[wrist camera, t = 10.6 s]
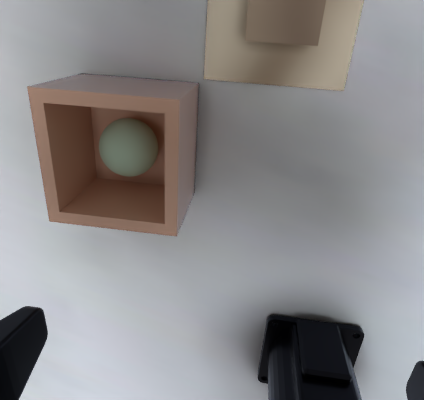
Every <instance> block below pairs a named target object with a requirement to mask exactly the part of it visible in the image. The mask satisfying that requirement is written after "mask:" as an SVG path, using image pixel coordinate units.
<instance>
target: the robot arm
mask: <svg viewBox="0 0 424 400" xmlns="http://www.w3.org/2000/svg"><path fill="white" fill-rule="evenodd" d="M272 322H276V323H272ZM355 333H357V334H355ZM47 335H48V331H47V326H46V321H45V316H44V311H43V310H42V309H41V308H38V307H31V306H25V307H23V308H21V309H19V310H17V311H15V312H14V313H12V314H10V315H8V316H7V317H5V318H3V319H2V320H0V400H19V398H20V396H21V394H22V392H23V390H24V388H25V385H26V383H27V381H28V379H29V377H30V375H31V372H32V370H33V368H34V366H35V364H36V362H37V360H38V357H39V355H40V353H41V351H42V349H43V347H44V345H45V342H46V340H47ZM363 338H364V333H363V330H362V328H360V327H358V326H352V325H345V324H338V323H330V322H323V321H315V320H308V319H300V318H293V317H285V316H278V315H272V316H269V317H268V319H267V323H266V329H265V335H264V341H263V346H262V352H261V358H260V364H259V370H258V380H259V381H260V382H262V383H267V384H268V395H269V400H362V399H361V395H360V392H359V388H358V384H357V381H356V377H355V374H354V370H353V367H354V364H355V361H356V359H357V356H358V353H359V350H360V347H361V344H362V341H363ZM406 393H407V398H408V400H424V361H419V362H417V363H416V365H415V367H414V369H413V371H412V374H411V376H410V378H409V380H408V382H407V386H406Z"/></svg>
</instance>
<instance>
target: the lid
mask: <svg viewBox="0 0 424 400" xmlns="http://www.w3.org/2000/svg"><path fill="white" fill-rule="evenodd" d="M363 3H364V0H208V5H207V24H206V44H205V63H204V79H207V80H219V81H231V82H243V83H254V84H266V85H278V86H290V87H301V88H313V89H325V90H337V91H344V88H345V83H346V79H347V74H348V70H349V65H350V61H351V56H352V52H353V47H354V43H355V38H356V34H357V29H358V25H359V20H360V16H361V12H362V7H363Z"/></svg>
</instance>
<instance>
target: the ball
mask: <svg viewBox="0 0 424 400" xmlns="http://www.w3.org/2000/svg"><path fill="white" fill-rule="evenodd" d="M99 152H100V156H101V158H102V160H103V162H104V164H105V165H106V166H107V167H108V168H109V169H110V170H111V171H113V172H114V173H116V174H119V175H122V176H129V177H131V176H137V175H140V174H143V173H144V172H146V171H147V170H149V169H150V168H151V167H152V165H153V164H154V162H155V161H156V158H157V155H158V141H157V138H156V136H155V134H154V132H153V131H152V129H151V128H150V127H149V126H148V125H146V124H145V123H144V122H142V121H140V120H137V119H133V118H122V119H118V120H116V121H114V122H112V123H110V124H109V125H108V126H107V127H106V128H105V129H104V131H103V133H102V134H101V137H100V140H99Z"/></svg>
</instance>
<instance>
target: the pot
mask: <svg viewBox="0 0 424 400" xmlns="http://www.w3.org/2000/svg"><path fill="white" fill-rule="evenodd" d="M27 88H28V94H29V100H30V106H31V112H32V119H33V125H34V131H35V137H36V143H37V149H38V155H39V161H40V167H41V173H42V179H43V185H44V191H45V197H46V204H47V210H48V216H49V221H50V222H59V223H67V224H76V225H84V226H93V227H101V228H110V229H118V230H127V231H135V232H144V233H152V234H161V235H169V236H177V235H178V233H179V230H180V228H181V225H182V223H183V220H184V218H185V215H186V213H187V210H188V208H189V205H190V203H191V200H192V198H193V195H194V189H195V165H196V142H197V118H198V94H199V83H194V82H182V81H169V80H157V79H144V78H132V77H120V76H107V75H95V74H78V75H74V76H69V77H65V78H61V79H57V80H53V81H49V82H45V83H41V84H36V85H32V86H28V87H27ZM122 118H133V119H137V120H140V121H142V122H144V123H145V124H146V125H148V126H149V127H150V128H151V129H152V131H153V132H154V134H155V136H156V138H157V141H158V155H157V158H156V161H155V162H154V164H153V165H152V167H151V168H150V169H149V170H147V171H146V172H144V173H143V174H140V175H137V176H131V177H129V176H122V175H119V174H116V173H114V172H113V171H111V170H110V169H109V168H108V167H107V166H106V165H105V164H104V162H103V160H102V158H101V156H100V152H99V140H100V137H101V134H102V133H103V131H104V129H105V128H106V127H107V126H108V125H109V124H110V123H112V122H114V121H116V120H118V119H122Z"/></svg>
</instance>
